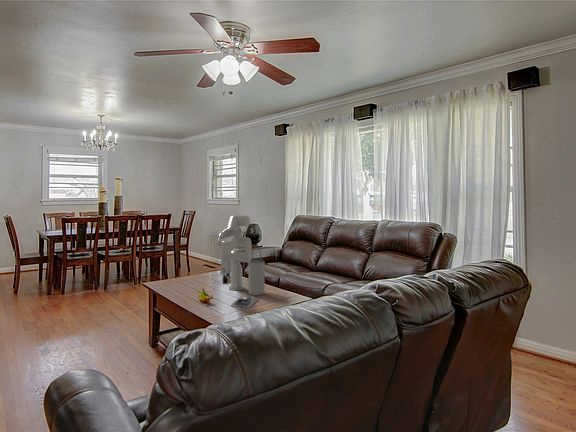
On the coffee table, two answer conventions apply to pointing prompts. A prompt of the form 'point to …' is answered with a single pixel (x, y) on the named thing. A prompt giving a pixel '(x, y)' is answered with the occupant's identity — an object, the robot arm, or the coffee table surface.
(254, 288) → the cylinder vase
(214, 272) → the coffee table surface
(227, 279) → the block
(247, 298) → the carrier plate
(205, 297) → the yellow toy car
